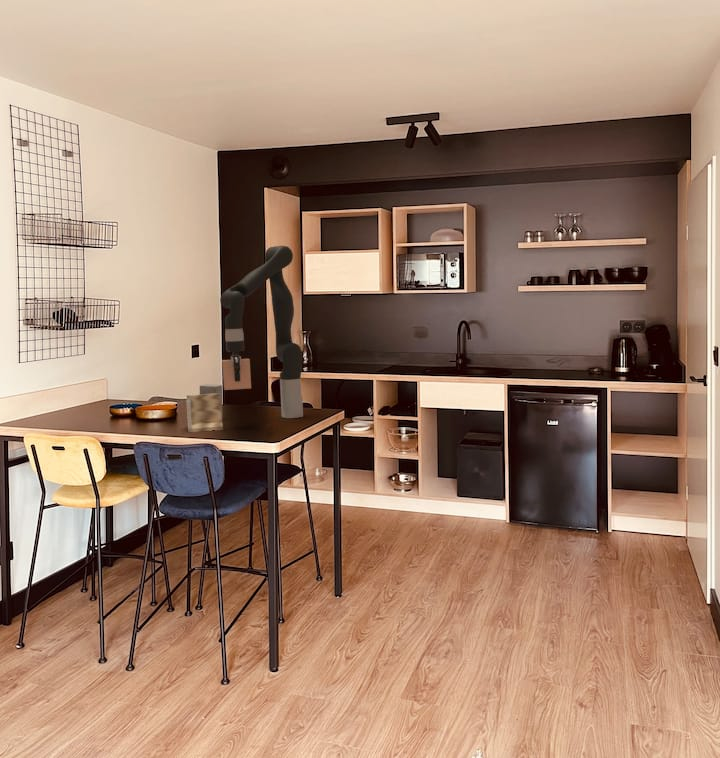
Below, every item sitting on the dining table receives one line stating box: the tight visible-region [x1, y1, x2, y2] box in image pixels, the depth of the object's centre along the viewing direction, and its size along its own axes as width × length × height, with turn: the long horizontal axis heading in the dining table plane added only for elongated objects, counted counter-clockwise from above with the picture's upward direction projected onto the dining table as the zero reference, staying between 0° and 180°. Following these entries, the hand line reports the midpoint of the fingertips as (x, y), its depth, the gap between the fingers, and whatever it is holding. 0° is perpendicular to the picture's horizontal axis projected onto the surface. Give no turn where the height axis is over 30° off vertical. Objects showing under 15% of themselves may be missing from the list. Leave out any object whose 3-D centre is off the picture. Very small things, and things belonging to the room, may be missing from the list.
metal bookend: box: [185, 397, 192, 430], centre depth 308 cm, size 2×12×11 cm, turn 12°
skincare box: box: [199, 383, 223, 413], centre depth 330 cm, size 8×7×16 cm
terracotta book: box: [222, 358, 252, 391], centre depth 310 cm, size 11×4×12 cm, turn 102°
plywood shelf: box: [186, 393, 224, 433], centre depth 310 cm, size 14×13×14 cm
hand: (237, 380), depth 310 cm, fingers closed on terracotta book, 4 cm apart
